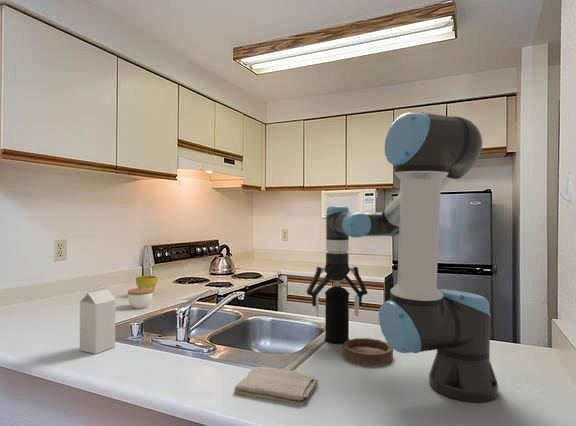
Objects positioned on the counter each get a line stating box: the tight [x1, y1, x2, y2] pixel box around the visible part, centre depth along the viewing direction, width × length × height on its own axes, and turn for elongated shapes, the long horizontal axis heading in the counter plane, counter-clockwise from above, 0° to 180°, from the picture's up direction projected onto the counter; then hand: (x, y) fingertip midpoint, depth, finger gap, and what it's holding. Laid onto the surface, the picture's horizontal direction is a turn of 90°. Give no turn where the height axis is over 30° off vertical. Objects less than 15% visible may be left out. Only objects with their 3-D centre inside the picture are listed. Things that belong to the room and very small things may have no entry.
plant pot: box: [135, 275, 158, 295], centre depth 195 cm, size 10×10×10 cm
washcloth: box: [233, 366, 318, 406], centre depth 92 cm, size 12×18×3 cm, turn 72°
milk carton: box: [79, 285, 116, 355], centre depth 118 cm, size 7×7×19 cm
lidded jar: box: [127, 286, 154, 310], centre depth 172 cm, size 11×11×9 cm
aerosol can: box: [324, 280, 350, 345], centre depth 127 cm, size 8×8×20 cm
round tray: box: [342, 337, 394, 367], centre depth 113 cm, size 14×14×3 cm
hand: (336, 315), depth 128 cm, fingers open, 13 cm apart
